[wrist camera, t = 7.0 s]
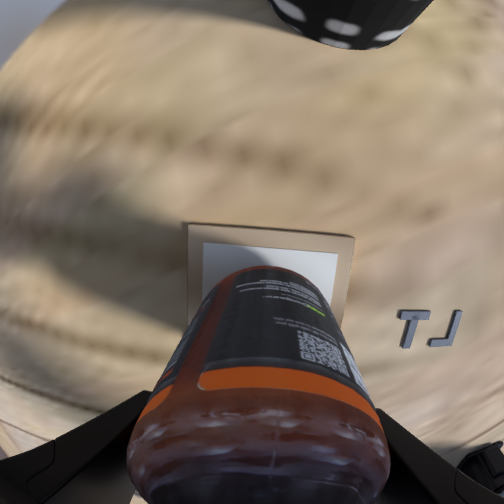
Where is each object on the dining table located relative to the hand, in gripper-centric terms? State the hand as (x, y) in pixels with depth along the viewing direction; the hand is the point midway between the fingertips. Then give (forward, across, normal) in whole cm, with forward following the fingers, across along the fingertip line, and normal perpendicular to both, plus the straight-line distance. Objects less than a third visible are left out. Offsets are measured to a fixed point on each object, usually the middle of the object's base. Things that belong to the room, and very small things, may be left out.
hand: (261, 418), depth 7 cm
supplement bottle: (+6, 0, 0) cm, 6 cm away
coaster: (+8, 0, 0) cm, 8 cm away
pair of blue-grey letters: (+8, -10, +1) cm, 13 cm away
